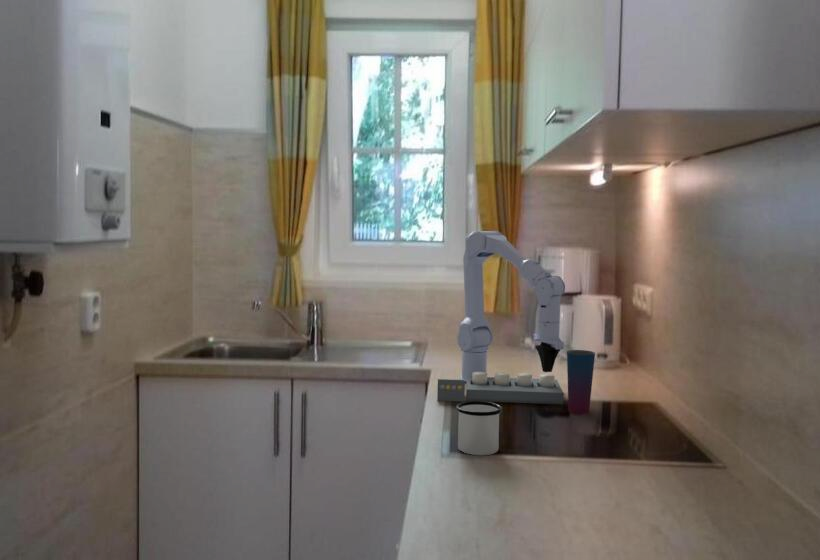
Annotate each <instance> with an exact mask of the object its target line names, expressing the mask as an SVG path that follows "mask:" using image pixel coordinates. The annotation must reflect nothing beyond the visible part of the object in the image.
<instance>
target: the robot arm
mask: <svg viewBox="0 0 820 560" xmlns="http://www.w3.org/2000/svg"><path fill="white" fill-rule="evenodd" d="M495 254H499V255H500V257H503V258H504V259H505V260H507V262H509V263H510V264H512V265H513V266H514V267H515V268H517V269H518V275H519V276H520V277H521V279H523V280H524V281H525V282H526V283H527V284H529V286H531V287H532V288H533V290H534V293H535V296H536V297H537V303H538V309H537V310H538V311H537V312H538V314H537V333H533V342H539V343H540V344H536V345H535V349H536V351H537V353H538V356H539V360H540V364H541V369H542V372H543V373H552V372H553V368H554V366H555V362H556V359H557V356H558V355H559V353H560V351H561V350H564V349H565V347H564V346H565V342H564V341H563V340H562V339H561V338H560V327H561V326H560V325H561V320H560V319H561V297H562V296H563V295H564V294H565V292H566V284H565V282H564V279H562V278H561V277H560V276H559V275H552V272H551V271H549V270H546V269H545V268H544V267H543V266H541V264H540V261H539V260H537V259H533V258H529V259H527V258H526V257H525V256H524V255H523V254H522V253H520V252H519V251H518V249H516V247H515V246H513V244H511V243H510V241H508V239H507V236H506V235H503V234H502V233H501V232H500V231H498V230H490V231H489V230H488V231H486V230H485V231H480V230H474V231H471V233H469V234H468V236H467V237H466V238H465V250H464V254H463V257H462V258H463V259H462V260H463V285H464V287H463V289H464V290H463V291H464V313H465V316H464V319H463V320H462V321H461V322H460V324H459V326H458V327H459V328H458V333H457V338H456V341H457V345H458V347H459V348H460V351H462V353H461V354H462V355H461V356H462V357H461V374H460V375H459V377H460V379H465V383H467V376H468V377H472V376H473V372H485V373H487V368H488V367H487V365H488V364H487V362H488V351H489V347H490V346H491V345H492V342H493V339H494V337H493V336H494V335H493V332H492V330H491V326H490V325H491V324H490V322H489V321H488V320H487V318H486V317H485V305H484V303H485V301H484V300H485V299H484V280H483V279H484V277H483V275H484V273H483V264H484V263H485V262H486V260H488V259H489V258H490V257H492V256H493V255H495Z"/></svg>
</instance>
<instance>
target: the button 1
mask: <svg viewBox="0 0 820 560" xmlns="http://www.w3.org/2000/svg"><path fill="white" fill-rule="evenodd" d="M487 377H488V373H487V372H486V373H485V372H473V376H472V385H487Z"/></svg>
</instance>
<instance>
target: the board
mask: <svg viewBox="0 0 820 560" xmlns="http://www.w3.org/2000/svg"><path fill="white" fill-rule="evenodd" d="M494 384H495V376H493V377H491V376H487V385H472V377H468V376H467V382H466V390H465V393H466V394H465V395H466V397H465V398H466V400H465V402H469V401H482V402H490V403H517V404H545V405H564V391H563V389H562V387H561V385H560V383H559V382H558V379H554V387H539V378H532V387H528V386H517V377H510V379H509V386H500V385H494Z"/></svg>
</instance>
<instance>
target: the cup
mask: <svg viewBox="0 0 820 560" xmlns="http://www.w3.org/2000/svg"><path fill="white" fill-rule="evenodd" d="M595 355H596V352H594V351H591V350H585V349H570V350H567V351H566V363H567V364H566V365H567V368H566V369H567V373H566V374H567V400H568V401H567V407H568V409H567V411H568V413H570V414H575V415H588V414H589V413H590V407H591V406H590V405H591V398H592V386H593V376H594V367H595V366H594V365H595V358H596V357H595Z"/></svg>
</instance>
